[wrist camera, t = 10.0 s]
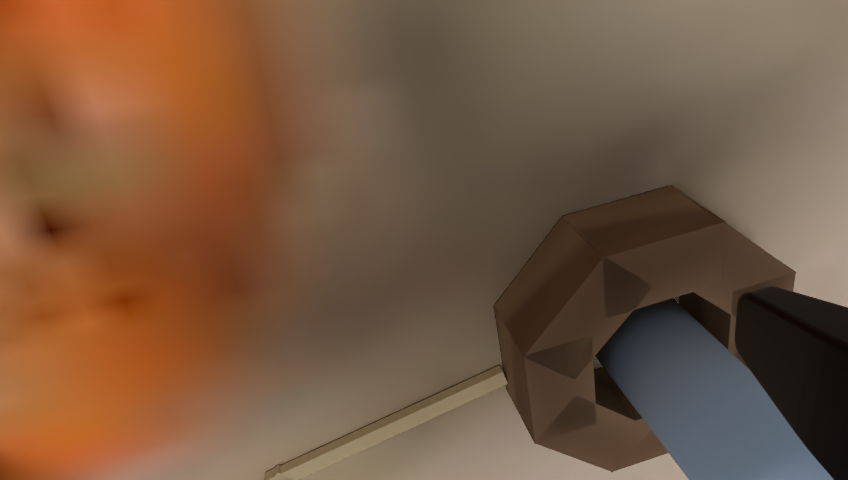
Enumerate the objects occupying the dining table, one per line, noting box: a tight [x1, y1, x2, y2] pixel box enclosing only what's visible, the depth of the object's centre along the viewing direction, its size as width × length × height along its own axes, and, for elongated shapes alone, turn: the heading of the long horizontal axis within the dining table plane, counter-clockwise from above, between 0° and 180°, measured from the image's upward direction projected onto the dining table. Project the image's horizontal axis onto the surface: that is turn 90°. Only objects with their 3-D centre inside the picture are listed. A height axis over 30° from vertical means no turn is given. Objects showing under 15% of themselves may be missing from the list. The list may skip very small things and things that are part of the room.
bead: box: [494, 186, 796, 472], centre depth 23 cm, size 10×10×3 cm
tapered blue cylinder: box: [595, 298, 834, 480], centre depth 21 cm, size 4×4×9 cm
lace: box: [265, 365, 508, 480], centre depth 24 cm, size 15×3×1 cm, turn 122°
